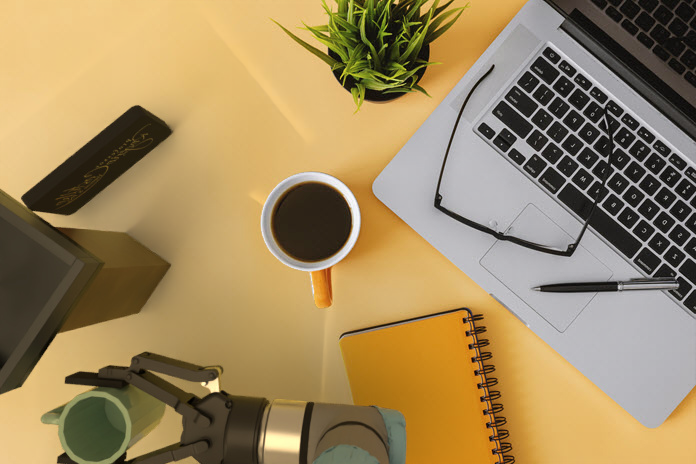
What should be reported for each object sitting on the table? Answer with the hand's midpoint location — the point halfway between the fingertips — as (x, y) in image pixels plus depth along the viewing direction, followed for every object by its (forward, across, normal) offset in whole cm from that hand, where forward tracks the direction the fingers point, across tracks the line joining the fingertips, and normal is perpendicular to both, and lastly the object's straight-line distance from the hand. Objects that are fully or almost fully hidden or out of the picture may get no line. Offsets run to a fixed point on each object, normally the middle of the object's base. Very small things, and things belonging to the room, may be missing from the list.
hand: (68, 416), depth 55 cm
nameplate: (+7, +31, -19) cm, 37 cm away
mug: (-3, 0, -6) cm, 7 cm away
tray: (+4, +15, +7) cm, 17 cm away
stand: (+4, +15, -19) cm, 25 cm away
